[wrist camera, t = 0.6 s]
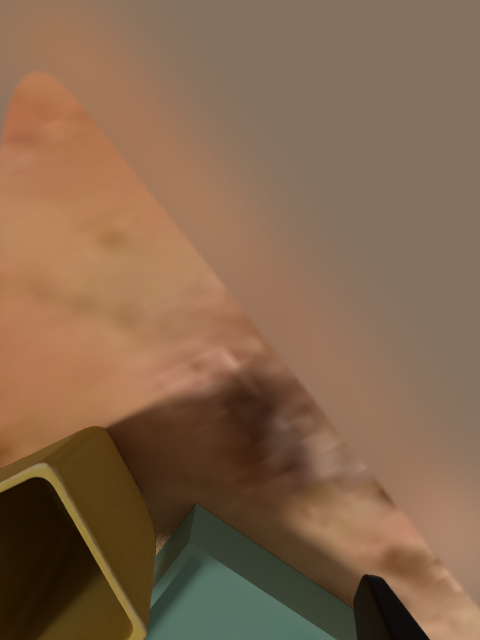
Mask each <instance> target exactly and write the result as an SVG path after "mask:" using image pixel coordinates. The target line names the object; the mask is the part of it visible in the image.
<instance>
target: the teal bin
mask: <svg viewBox="0 0 480 640" xmlns="http://www.w3.org/2000/svg"><path fill="white" fill-rule="evenodd" d="M143 640H357V635H356V627H355V619H354V612H353V609H352V608H351V607H350V606H348V605H347V604H345V603H344V602H342V601H341V600H339V599H338V598H336V597H335V596H333V595H332V594H330V593H329V592H327V591H326V590H324V589H323V588H321V587H320V586H318V585H317V584H315V583H314V582H312V581H311V580H309V579H308V578H306V577H305V576H303V575H302V574H300V573H299V572H298V571H296V570H295V569H293V568H292V567H290V566H289V565H287V564H286V563H284V562H283V561H281V560H280V559H278V558H277V557H275V556H274V555H272V554H271V553H269V552H268V551H266V550H265V549H263V548H262V547H260V546H259V545H257V544H256V543H254V542H253V541H251V540H250V539H248V538H247V537H246V536H244V535H243V534H241V533H240V532H238V531H237V530H235V529H234V528H232V527H231V526H229V525H228V524H226V523H225V522H223V521H222V520H220V519H219V518H217V517H216V516H214V515H213V514H211V513H210V512H208V511H207V510H205V509H204V508H202V507H201V506H199V505H198V504H195V506H194V507H193V508H192V509H191V511H190V512H189V513H188V515H187V516H186V517H185V519H184V520H183V521H182V523H181V524H180V525H179V526H178V528H177V529H176V530H175V532H174V533H173V534H172V536H171V537H170V538H169V539H168V541H167V542H166V543H165V545H164V546H163V547H162V549H161V550H160V551H159V552H158V554H157V555H156V556H155V567H154V577H153V586H152V595H151V604H150V613H149V621H148V634H147V637H146V638H145V639H143Z"/></svg>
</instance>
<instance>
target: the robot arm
mask: <svg viewBox="0 0 480 640" xmlns="http://www.w3.org/2000/svg"><path fill="white" fill-rule="evenodd" d="M353 611H354V619H355V627H356V635H357V640H430V639H429V638H428V636H427V635H426V634H425V632H424V631H423V630H422V629H421V627H420V626H419V625H418V623H417V622H416V621H415V619H414V618H413V617H412V615H411V614H410V613H409V612H408V610H407V609H406V608H405V606H404V605H403V604H402V602H401V601H400V600H399V598H398V597H397V596H396V595H395V593H394V592H393V591H392V589H391V588H390V587H389V585H388V584H387V583H386V581H385V580H384V579H383V578H381V577H379V576H374V575H368V574H365V575H364V576H363V577H362V579H361V581H360V584H359V586H358V589H357V591H356V594H355V597H354V601H353Z"/></svg>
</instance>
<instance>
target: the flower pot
mask: <svg viewBox="0 0 480 640" xmlns="http://www.w3.org/2000/svg"><path fill="white" fill-rule="evenodd" d="M155 556H156V539H155V531H154V526H153V522H152V518H151V515H150V512H149V510H148V507H147V505H146V503H145V500H144V498H143V496H142V494H141V492H140V490H139V488H138V487H137V485H136V483H135V481H134V479H133V477H132V475H131V474H130V472H129V470H128V468H127V466H126V465H125V463H124V461H123V459H122V457H121V455H120V453H119V451H118V449H117V448H116V446H115V444H114V442H113V440H112V438H111V437H110V435H109V434H108V432H107V431H106V430H105V429H103V428H102V427H98V426H93V427H89V428H85V429H83V430H81V431H78V432H76V433H74V434H72V435H70V436H68V437H66V438H64V439H62V440H60V441H58V442H56V443H54V444H52V445H50V446H48V447H46V448H43V449H41V450H39V451H37V452H35V453H33V454H31V455H29V456H27V457H25V458H22V459H20V460H18V461H16V462H14V463H12V464H9V465H7V466H5V467H3V468H1V469H0V640H143V639H145V638H146V637H147V634H148V621H149V613H150V604H151V595H152V586H153V577H154V567H155Z"/></svg>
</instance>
